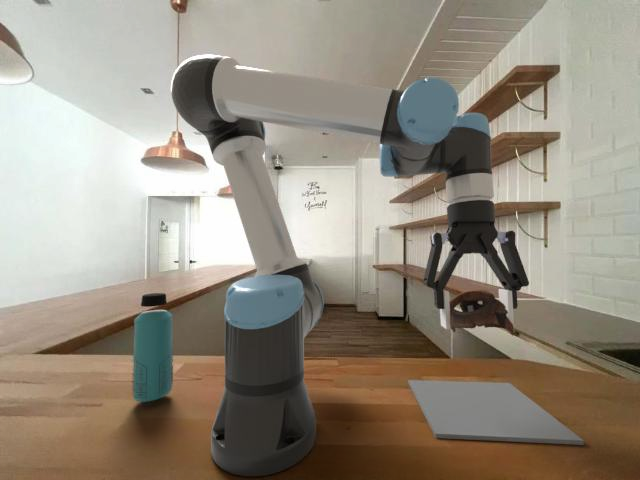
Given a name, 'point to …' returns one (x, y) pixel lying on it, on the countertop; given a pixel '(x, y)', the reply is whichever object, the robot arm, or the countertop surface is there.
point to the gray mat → (487, 413)
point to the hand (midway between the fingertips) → (476, 327)
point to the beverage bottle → (152, 351)
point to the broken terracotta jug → (478, 311)
